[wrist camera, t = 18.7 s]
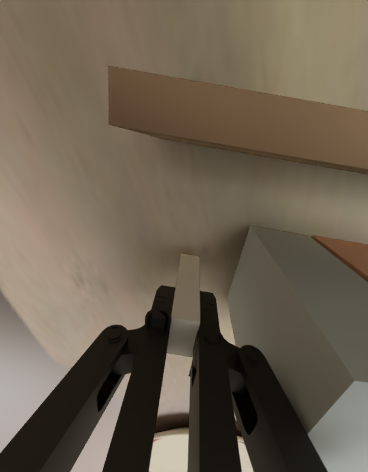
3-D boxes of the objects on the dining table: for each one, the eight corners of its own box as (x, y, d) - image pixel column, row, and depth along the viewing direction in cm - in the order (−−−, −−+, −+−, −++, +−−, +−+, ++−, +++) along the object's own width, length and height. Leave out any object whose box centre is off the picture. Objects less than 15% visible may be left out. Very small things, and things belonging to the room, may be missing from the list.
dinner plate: (233, 390, 26) (237, 422, 23) (304, 471, 35) (314, 502, 32) (90, 432, 34) (79, 459, 31) (177, 489, 42) (176, 516, 39)
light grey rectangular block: (250, 225, 16) (355, 380, 5) (308, 235, 16) (529, 410, 5) (226, 298, 20) (262, 485, 9) (275, 306, 20) (371, 503, 9)
